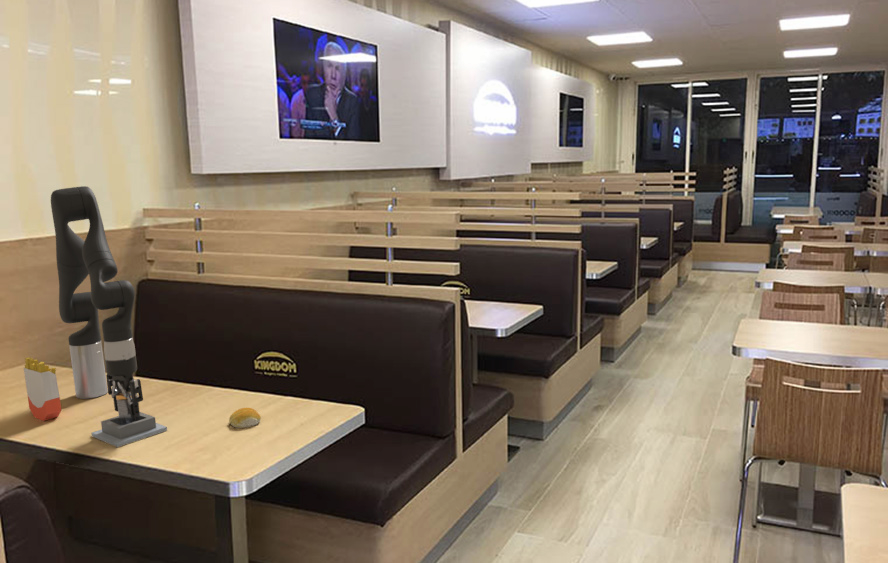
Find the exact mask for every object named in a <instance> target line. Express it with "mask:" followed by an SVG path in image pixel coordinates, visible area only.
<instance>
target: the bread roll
mask: <svg viewBox="0 0 888 563" xmlns="http://www.w3.org/2000/svg"><path fill="white" fill-rule="evenodd" d="M261 420H262V417H261V414H259V413H258V412H257V410H255V409H254V408H252V407H242V408H238V409H236V410H235V411H234V412H233V413H232V414H230V415H229V418H228V423H229V424H230V426H232V427H234V428H236V429H237V428H239V429H242V428H244V429H245V428H250V427H254V426H257V425H258V424H259V423H260V422H261Z"/></svg>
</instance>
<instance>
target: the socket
mask: <svg viewBox="0 0 888 563" xmlns="http://www.w3.org/2000/svg"><path fill="white" fill-rule="evenodd" d="M139 412H140V415H139V416H137V417H136V421H135V422H132V423H129V424H126V425H123V426H121V425H120V420H119V415H118V416H114V417H111V418H107V419H104V420H101V421H100V424H101V425H100V426H101V429H99V430H96V431H93V432H91V437H92V438H96V439H97V440H100V441H102V442H105V443H106V444H109V445H111V446H113V445H114V447H115V448H119V446H120V447H123V446H126V445H128V444H131V442H132V443H134V441H135V442H137V441H140V440H143V439H145V438H149V437H152V436H156V435H158V434H160V433H161V434H162V433H164V432H166V431H168V427H167V426H165V425H163V424H160V423H158V422H156V416H153V415H150V414H147V413H144V412H141V411H139ZM125 444H126V445H125ZM122 445H123V446H122Z"/></svg>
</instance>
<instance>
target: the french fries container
mask: <svg viewBox="0 0 888 563" xmlns="http://www.w3.org/2000/svg"><path fill="white" fill-rule="evenodd" d="M24 362H25V363H24V367H23V374H24V380H25V381H24V382H25V389H26V395H27V400H28V408H29V410H30V412H31V414H32V415H33V417H34V418H35V419H37V420H40V421H41V422H42V421H43V422H45V421H47V420H51V419H55V418H57V417H60V414H61V412H62V404H61V397H60V390H59V386H58V380H57V375H56V370H57V369H56V367H51V368H50V365H47V364H45V362H44V361H38V359H34V358H32V357H31V356H30V357H29V356H28V357H24Z"/></svg>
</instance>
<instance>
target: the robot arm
mask: <svg viewBox="0 0 888 563" xmlns="http://www.w3.org/2000/svg"><path fill="white" fill-rule="evenodd" d="M98 203H99V202H98V200H97V197H96V194H95V193H94V191H93V190H92V188H90V187H89V186H82V185H81V186H73V187H66V188H59V189H56V190H55V189H54V190H53V191H52V193H51V195H50V208H51V215H52V221H53V225H54V226H53V227H54V235H55V251H56V253H55V254H56V259H55V260H56V266H57V267H56V268H57V276H58V277H57V278H58V286H59V288H58V311H59V312H58V313H59V316H60V317H59V318H60V319H61V320H62V321H63V323H65V324H76V323H83V322H84V323H85V322H87V323H86V324H85V326H83V327H82V328H80V329H79V330H77V331H75V332H73V333H72V334H70V335H69V336H68V344H69V345H68V347H69V353H70V360H71V361H70V362H71V366H72V367H71V368H72V369H71V370H72V376H73V383H74V384H73V385H74V392H75V398H77V399H81V400H82V399H84V400H85V399H93V398H94V399H95V398H97V397H101V396H105V395H106V394H108V395H109V396H111V398H112V399H113V407H114V411H115V412H116V413H118V406H117V399H116V395H117V394H120V393H123V395H124V397H125V398H127V399H128V401H129V407H130V415H131V417H133V418H134V417H137V416H139V415H140V412H141V411H140V406H139V405H140V404H139V403H141V402H142V401H143V400H144V396H143V391H142V390H143V389H142V384H141V380H140V378H138V379H135V378H134V373H135V372H137V370H138V363H137V356H136V354H137V353H136V348H135V347H136V346H135V342H134V338H133V337H134V336H133V329H132V315H133V310H134V309H133V308H134V304H135V300H136V299H135V298H136V297H135V296H136V290H135V288H134V285H133V284H132V282H130V281H129V280H125V279H124V280H121V279H120V280H113V281H111V280H112V279H114V278H115V277H116V276H117V274H118V271H119V270H118V266H117V264H116V262H115V259H114V256H113V254H112V252H111V250H110V247H109V243H108V239H107V237H106V235H107V234H106V231H105V227H104V223H103V219H102V216H101V211H100V208H99V204H98ZM84 220H88V221H89V229H88V232H87V234H86V237H85V240H84V239H83V238H81V237H80V236H79V235H78V234H77V233H75V231H73V230H72V229H71V227H70V226H69V223H71V222H79V221H84ZM88 276H89V281H90V291H85V292H75V291H76V290H77V288H79V286H80V285H81V284H82V283H83V282H84V281H85V279H86V278H87V277H88ZM111 309H118V310H117V312H116V313H115V314H113V315H111V316H109V317H107V318H104V319H103V320H102V322H101V329H102V336H103V343H102V336H101V330H100V318H99V317H100V316H99V310H100V311H105V310H106V311H107V310H111ZM105 368H106V369H105ZM131 397H132V399H131Z"/></svg>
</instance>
